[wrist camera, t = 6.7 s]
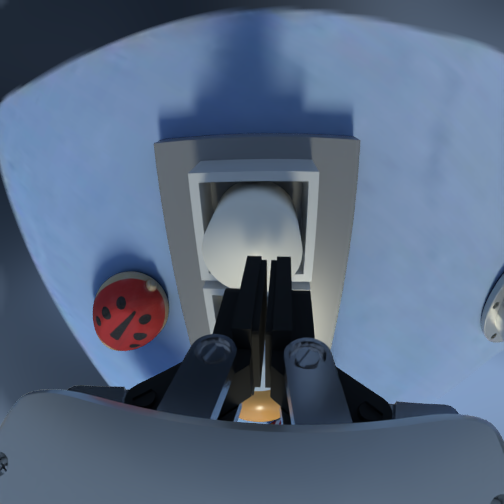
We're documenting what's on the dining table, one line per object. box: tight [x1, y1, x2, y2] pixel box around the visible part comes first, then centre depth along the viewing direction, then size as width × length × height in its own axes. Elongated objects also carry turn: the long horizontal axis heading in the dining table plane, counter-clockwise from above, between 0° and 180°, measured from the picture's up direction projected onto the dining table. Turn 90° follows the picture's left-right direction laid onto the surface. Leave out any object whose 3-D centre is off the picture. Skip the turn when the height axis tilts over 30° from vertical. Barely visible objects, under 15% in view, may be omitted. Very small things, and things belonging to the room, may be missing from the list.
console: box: [154, 133, 360, 349], centre depth 21 cm, size 12×23×4 cm, turn 2°
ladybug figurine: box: [93, 271, 169, 351], centre depth 23 cm, size 7×10×4 cm
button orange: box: [239, 390, 280, 422], centre depth 22 cm, size 5×5×4 cm
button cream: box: [202, 181, 302, 292], centre depth 15 cm, size 5×5×4 cm
